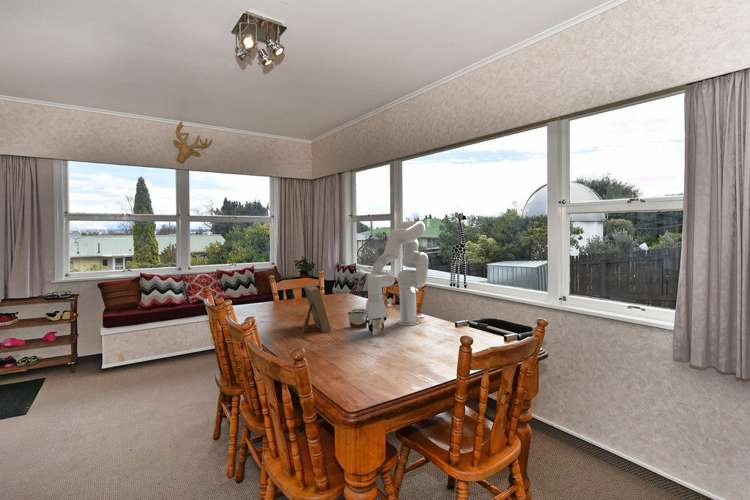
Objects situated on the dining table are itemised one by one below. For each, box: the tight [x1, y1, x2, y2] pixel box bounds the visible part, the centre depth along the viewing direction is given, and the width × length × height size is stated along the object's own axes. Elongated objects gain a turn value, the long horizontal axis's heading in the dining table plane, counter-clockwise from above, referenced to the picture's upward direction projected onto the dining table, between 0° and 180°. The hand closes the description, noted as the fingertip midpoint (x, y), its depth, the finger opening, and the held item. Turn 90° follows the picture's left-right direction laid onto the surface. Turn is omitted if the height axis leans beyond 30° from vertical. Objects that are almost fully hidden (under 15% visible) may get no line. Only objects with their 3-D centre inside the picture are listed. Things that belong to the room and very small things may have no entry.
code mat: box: [344, 330, 388, 342], centre depth 204 cm, size 20×14×1 cm
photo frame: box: [302, 282, 332, 334], centre depth 220 cm, size 15×22×25 cm
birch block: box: [370, 318, 383, 335], centre depth 206 cm, size 5×5×8 cm
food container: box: [347, 308, 368, 329], centre depth 222 cm, size 12×6×10 cm, turn 84°
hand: (376, 330), depth 206 cm, fingers open, 5 cm apart
